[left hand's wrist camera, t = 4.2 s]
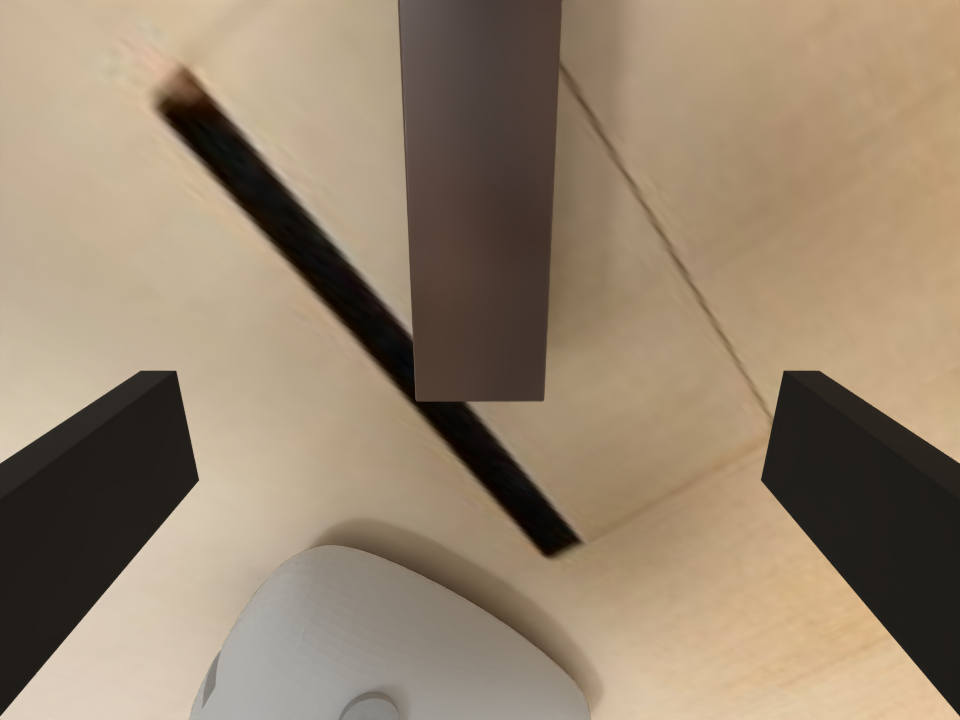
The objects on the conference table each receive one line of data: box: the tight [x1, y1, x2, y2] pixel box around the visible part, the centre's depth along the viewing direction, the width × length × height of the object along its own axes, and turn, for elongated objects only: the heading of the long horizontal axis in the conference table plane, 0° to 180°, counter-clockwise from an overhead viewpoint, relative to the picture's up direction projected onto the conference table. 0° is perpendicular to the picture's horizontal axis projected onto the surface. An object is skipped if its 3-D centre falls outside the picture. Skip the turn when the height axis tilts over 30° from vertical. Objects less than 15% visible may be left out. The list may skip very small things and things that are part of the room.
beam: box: [398, 0, 562, 401], centre depth 21 cm, size 5×26×8 cm, turn 0°
